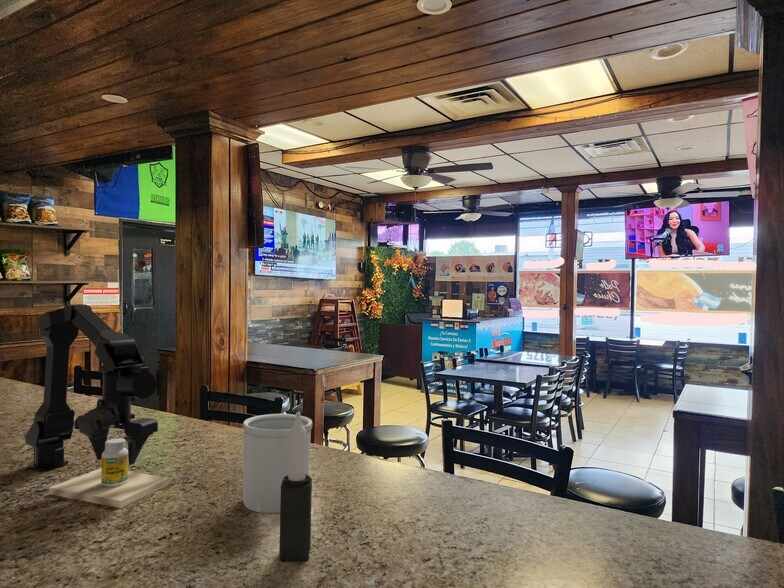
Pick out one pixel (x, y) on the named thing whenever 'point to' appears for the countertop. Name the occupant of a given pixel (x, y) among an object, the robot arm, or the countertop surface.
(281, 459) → the utensil holder
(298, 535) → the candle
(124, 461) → the supplement bottle
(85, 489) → the serving board
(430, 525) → the countertop surface
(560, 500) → the countertop surface
